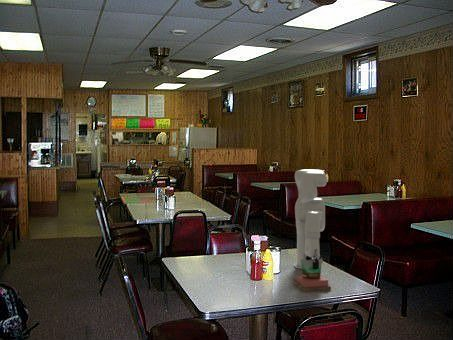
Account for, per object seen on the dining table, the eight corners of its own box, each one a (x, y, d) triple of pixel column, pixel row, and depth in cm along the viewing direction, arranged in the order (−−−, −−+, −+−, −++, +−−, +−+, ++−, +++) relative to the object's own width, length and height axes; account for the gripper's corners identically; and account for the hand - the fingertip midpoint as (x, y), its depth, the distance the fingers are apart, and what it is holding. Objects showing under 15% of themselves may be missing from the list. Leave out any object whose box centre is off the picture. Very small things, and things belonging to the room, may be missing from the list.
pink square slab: (295, 280, 263) (295, 274, 263) (318, 278, 266) (318, 273, 266) (304, 287, 251) (304, 281, 250) (328, 285, 254) (328, 280, 253)
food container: (304, 280, 252) (305, 261, 251) (300, 277, 258) (300, 258, 257) (326, 279, 255) (326, 260, 254) (321, 276, 261) (321, 257, 260)
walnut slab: (293, 285, 264) (293, 279, 264) (319, 283, 267) (319, 278, 267) (303, 293, 250) (303, 288, 249) (330, 292, 253) (330, 286, 253)
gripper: (300, 232, 264) (299, 263, 265) (312, 238, 247) (311, 271, 248) (313, 231, 266) (312, 262, 267) (326, 237, 249) (325, 270, 250)
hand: (312, 266), depth 257 cm, fingers open, 9 cm apart
